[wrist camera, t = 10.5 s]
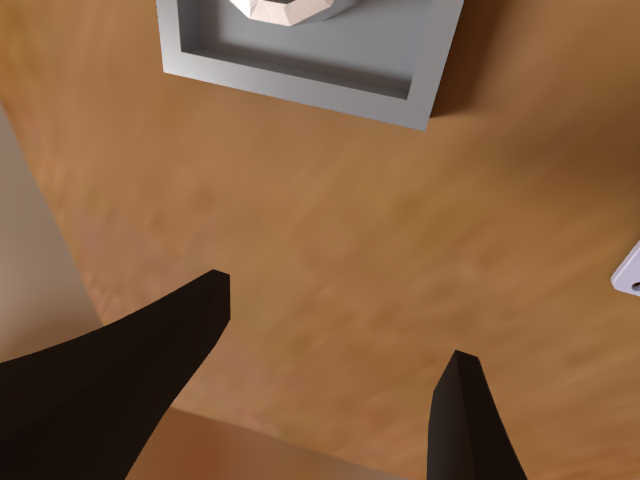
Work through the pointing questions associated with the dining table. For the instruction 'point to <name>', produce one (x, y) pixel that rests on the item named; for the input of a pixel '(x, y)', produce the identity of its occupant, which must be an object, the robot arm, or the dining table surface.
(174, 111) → the dining table surface
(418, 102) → the tray
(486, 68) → the dining table surface
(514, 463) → the robot arm
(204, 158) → the dining table surface
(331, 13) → the ring
